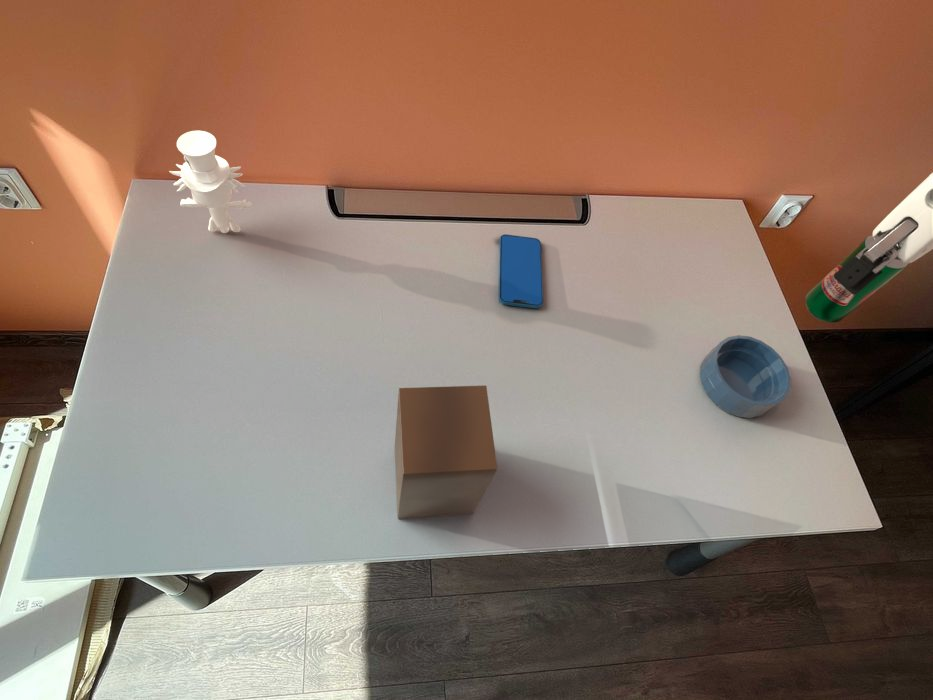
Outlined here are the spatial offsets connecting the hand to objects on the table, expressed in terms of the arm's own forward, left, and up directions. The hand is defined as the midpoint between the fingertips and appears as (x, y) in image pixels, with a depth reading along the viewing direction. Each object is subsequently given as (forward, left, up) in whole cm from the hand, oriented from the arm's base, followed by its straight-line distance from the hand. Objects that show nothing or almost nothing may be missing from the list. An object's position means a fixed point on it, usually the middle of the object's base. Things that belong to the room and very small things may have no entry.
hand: (860, 274), depth 68 cm
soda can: (0, 0, -7) cm, 7 cm away
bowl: (0, -1, -29) cm, 29 cm away
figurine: (+65, +56, -29) cm, 90 cm away
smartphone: (+35, +17, -29) cm, 49 cm away
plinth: (+12, +49, -29) cm, 58 cm away
